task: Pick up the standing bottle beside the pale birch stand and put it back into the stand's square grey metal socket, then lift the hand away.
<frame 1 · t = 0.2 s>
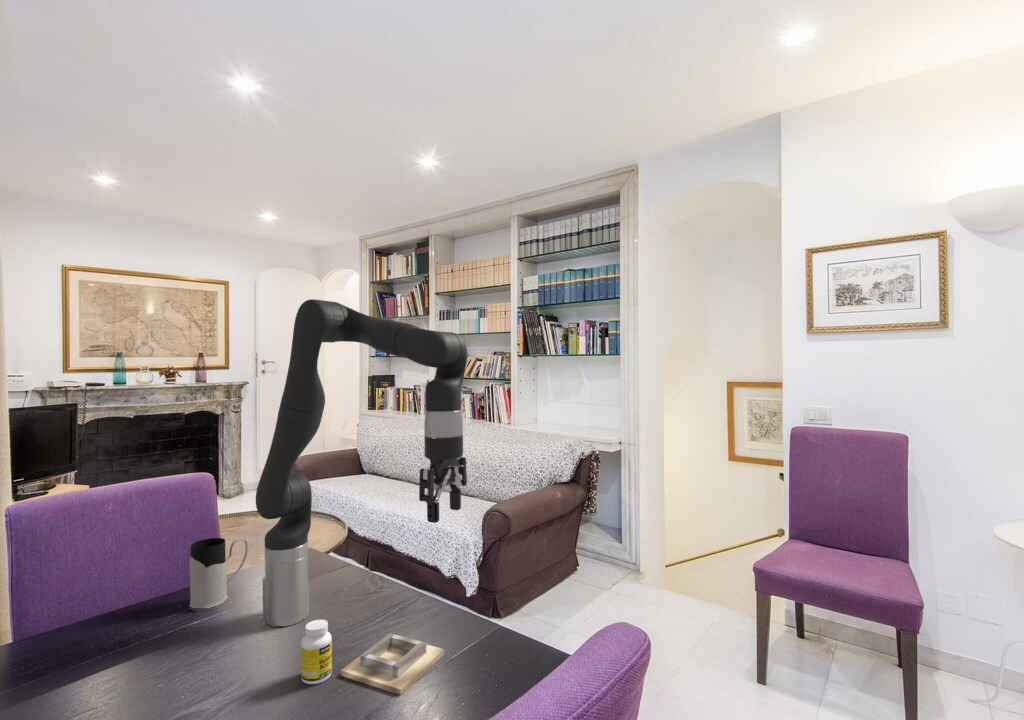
hand: (444, 515, 101), 29 cm above the table, tool pointing down, fingers open, 8 cm apart
socket stand: (394, 664, 100), on the table
supplement bottle: (317, 677, 97), on the table
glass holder: (220, 599, 130), on the table
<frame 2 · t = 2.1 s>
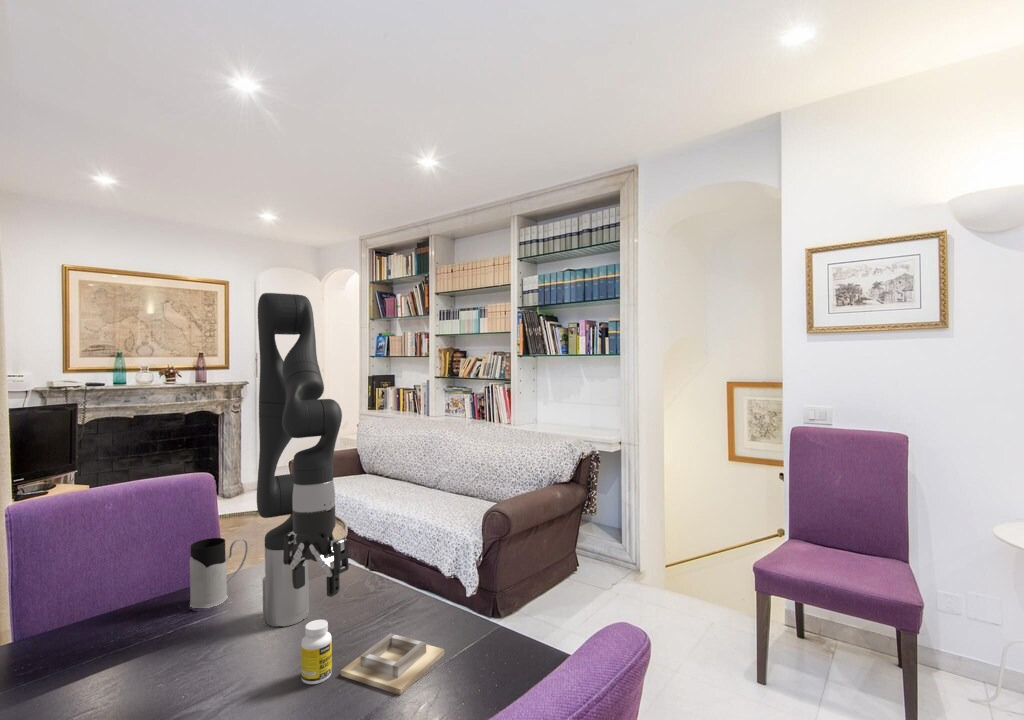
hand: (315, 591, 97), 16 cm above the table, tool pointing down, fingers open, 8 cm apart
nothing on the table moved.
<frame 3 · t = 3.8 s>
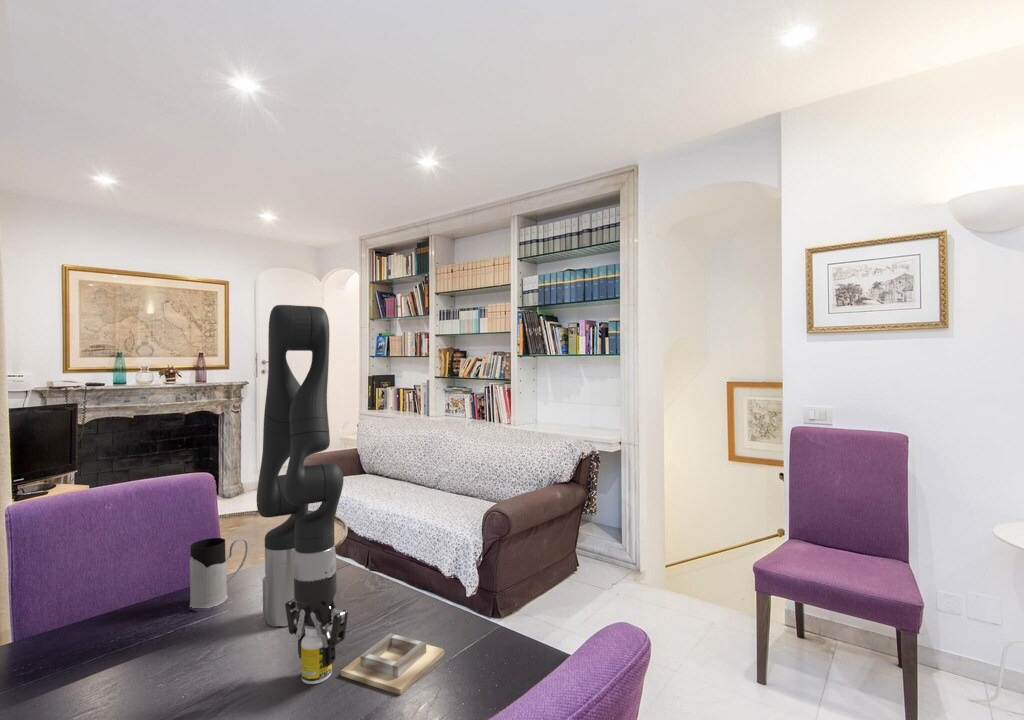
hand: (316, 660, 97), 3 cm above the table, tool pointing down, fingers closed on supplement bottle, 5 cm apart
supplement bottle: (317, 677, 97), on the table, touching gripper
everything else where it was.
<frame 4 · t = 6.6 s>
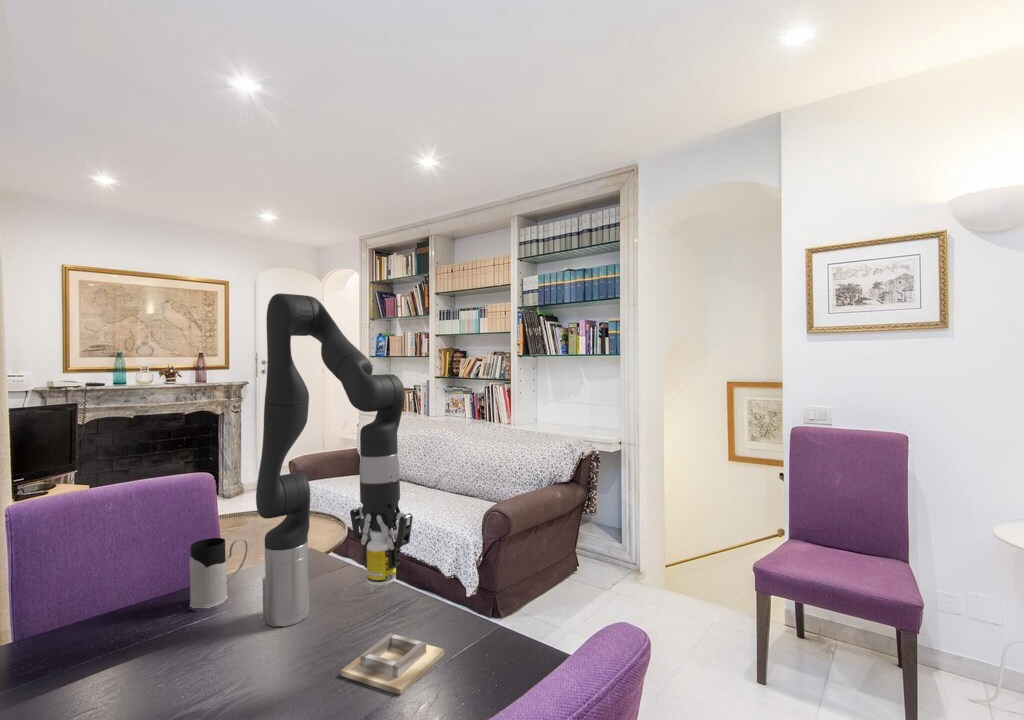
hand: (382, 564, 99), 20 cm above the table, tool pointing down, fingers closed on supplement bottle, 5 cm apart
supplement bottle: (382, 581, 99), point 17 cm above the table, touching gripper
everything else where it was.
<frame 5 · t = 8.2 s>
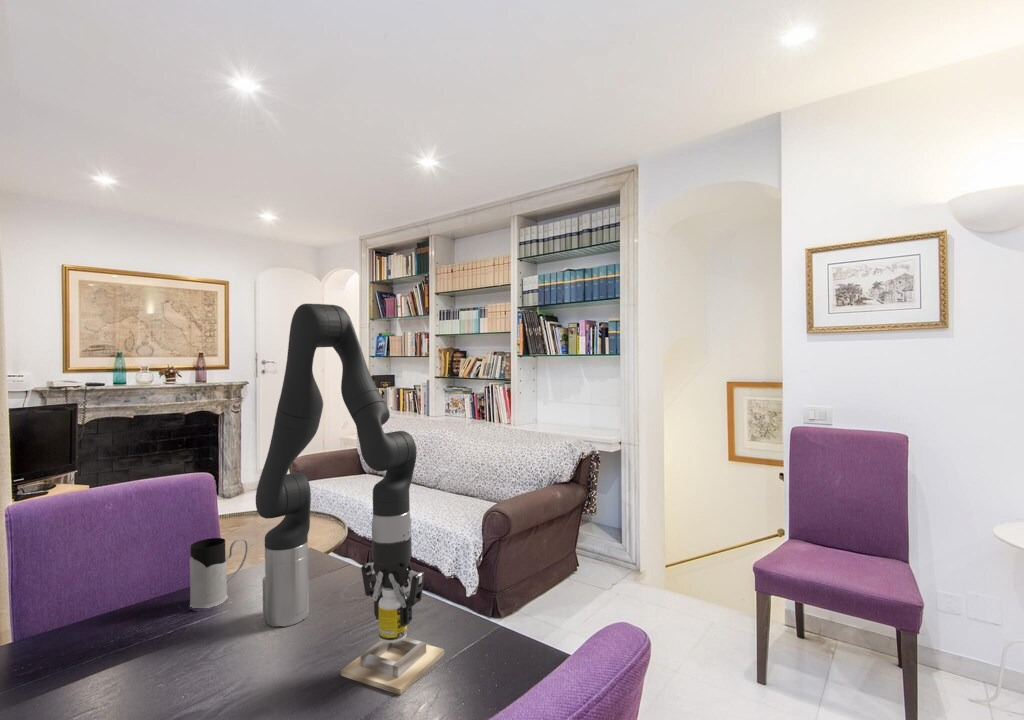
hand: (393, 621, 100), 8 cm above the table, tool pointing down, fingers closed on supplement bottle, 5 cm apart
supplement bottle: (393, 637, 100), point 5 cm above the table, touching gripper
everything else where it was.
when the fingers open (5 cm above the table, at t = 9.3 s): supplement bottle drops 1 cm, resting on socket stand.
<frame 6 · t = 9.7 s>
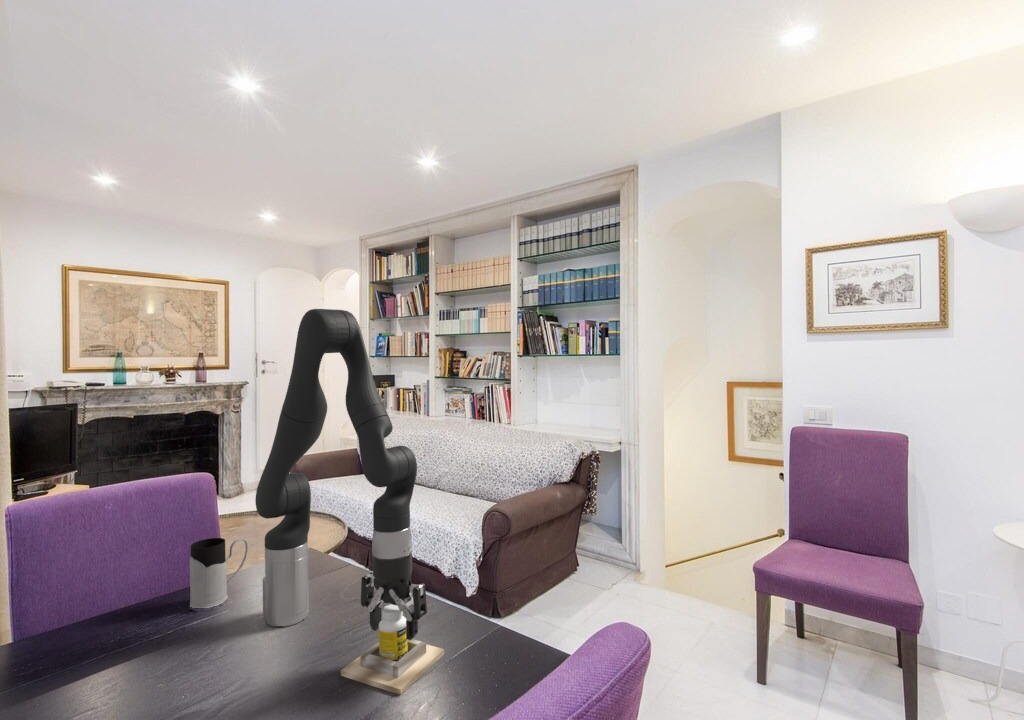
hand: (393, 633, 100), 6 cm above the table, tool pointing down, fingers open, 8 cm apart
supplement bottle: (394, 659, 100), point 1 cm above the table, touching socket stand
everything else where it was.
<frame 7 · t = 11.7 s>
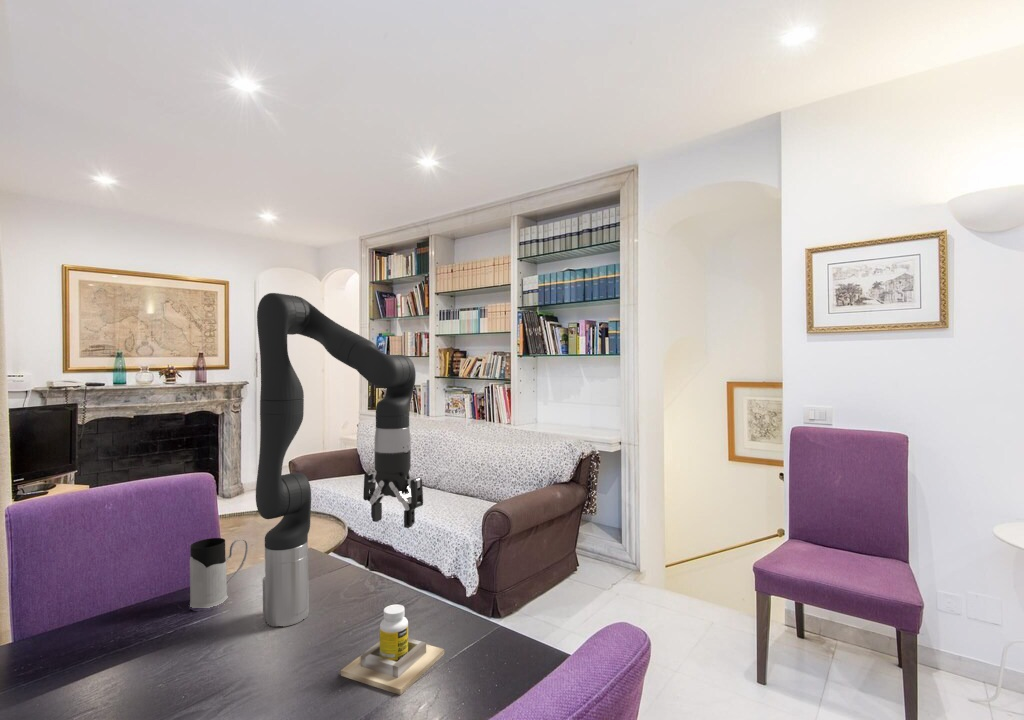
hand: (392, 523, 110), 25 cm above the table, tool pointing down, fingers open, 8 cm apart
nothing on the table moved.
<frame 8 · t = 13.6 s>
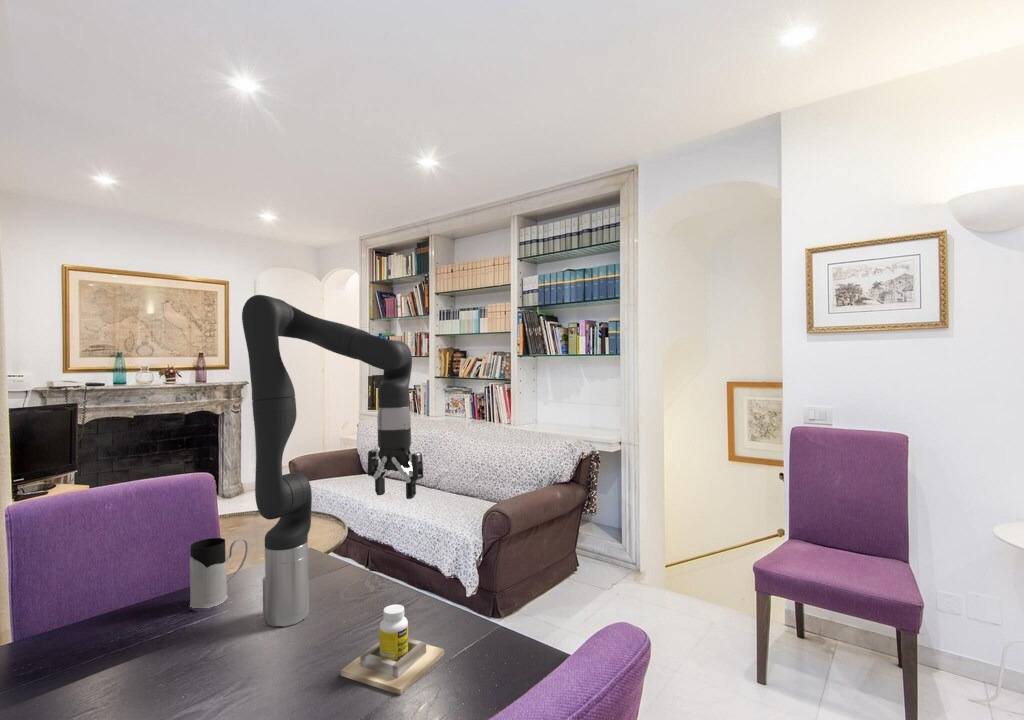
hand: (395, 496, 119), 28 cm above the table, tool pointing down, fingers open, 8 cm apart
nothing on the table moved.
at the end: supplement bottle 0.0 cm off-centre on the socket stand, point 0.8 cm above the socket stand's base; supplement bottle tilted 0°; the gripper is holding nothing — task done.
